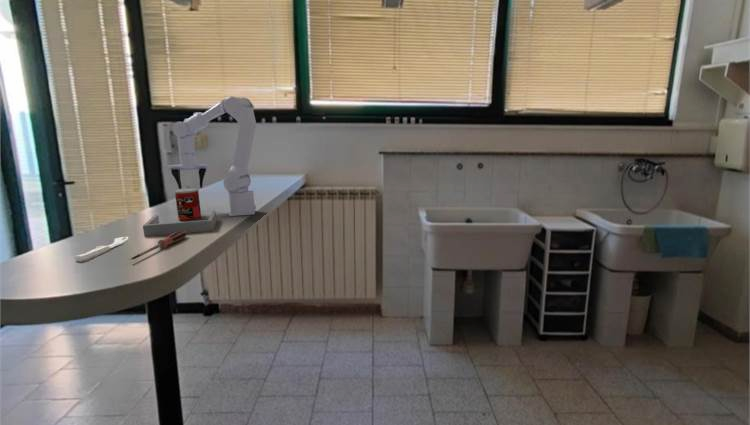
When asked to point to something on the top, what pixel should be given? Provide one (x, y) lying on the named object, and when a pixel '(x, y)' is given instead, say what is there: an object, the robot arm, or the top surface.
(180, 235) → the screwdriver
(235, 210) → the robot arm
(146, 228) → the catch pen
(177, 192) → the canned food
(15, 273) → the top surface
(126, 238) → the white elongated piece
